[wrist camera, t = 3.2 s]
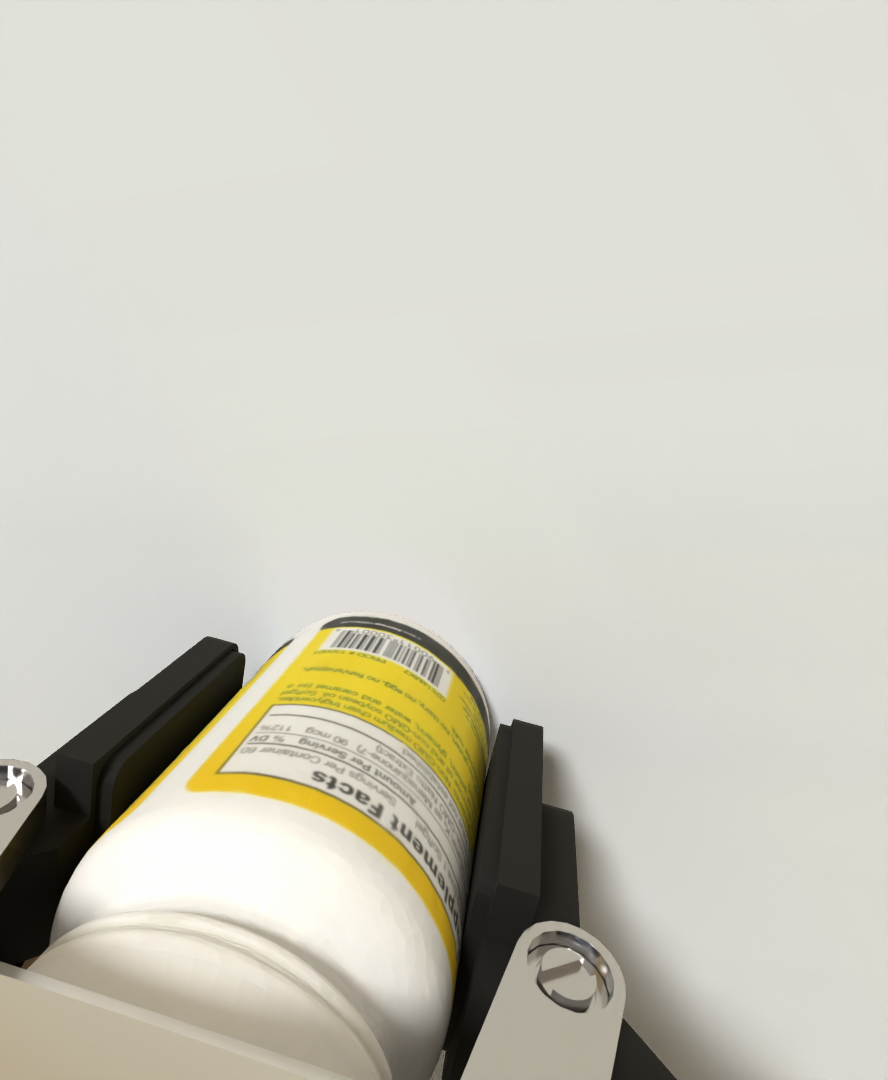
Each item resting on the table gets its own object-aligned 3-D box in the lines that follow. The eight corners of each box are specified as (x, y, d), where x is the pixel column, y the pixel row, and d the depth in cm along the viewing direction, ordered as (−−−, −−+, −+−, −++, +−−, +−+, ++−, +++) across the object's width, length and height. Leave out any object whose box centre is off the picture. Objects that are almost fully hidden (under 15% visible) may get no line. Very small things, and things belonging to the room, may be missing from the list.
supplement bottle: (324, 838, 14) (32, 1452, 6) (227, 650, 13) (-262, 1075, 5) (531, 781, 13) (501, 1446, 5) (438, 570, 12) (221, 959, 4)
